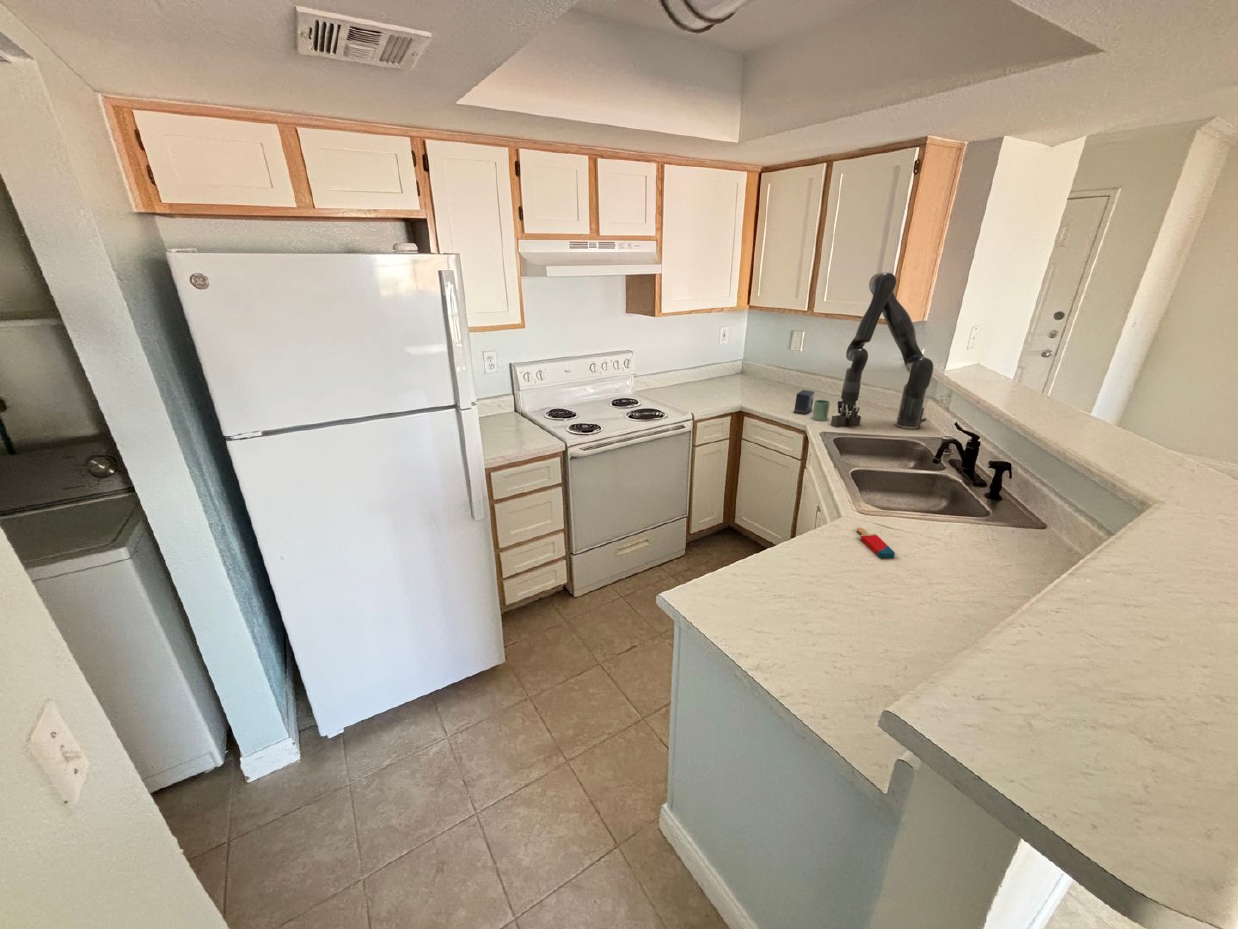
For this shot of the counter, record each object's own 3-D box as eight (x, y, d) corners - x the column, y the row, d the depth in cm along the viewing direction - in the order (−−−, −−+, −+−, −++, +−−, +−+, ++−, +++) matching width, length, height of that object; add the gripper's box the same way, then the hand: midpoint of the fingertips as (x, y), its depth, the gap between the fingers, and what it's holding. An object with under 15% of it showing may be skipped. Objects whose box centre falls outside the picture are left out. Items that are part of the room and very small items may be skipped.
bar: (854, 422, 246) (855, 413, 245) (859, 425, 243) (861, 416, 241) (830, 424, 244) (832, 415, 242) (835, 427, 240) (837, 418, 239)
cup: (822, 416, 257) (824, 399, 253) (829, 420, 251) (832, 402, 247) (810, 417, 256) (812, 400, 252) (817, 421, 249) (820, 403, 246)
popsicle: (866, 525, 147) (896, 552, 134) (865, 530, 148) (895, 557, 134) (851, 526, 147) (880, 553, 133) (851, 530, 148) (879, 558, 134)
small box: (805, 414, 260) (808, 395, 256) (793, 412, 264) (796, 393, 260) (812, 410, 268) (815, 391, 264) (800, 408, 271) (802, 389, 267)
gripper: (867, 392, 231) (861, 428, 238) (848, 386, 244) (843, 419, 250) (853, 393, 230) (847, 429, 236) (834, 386, 243) (829, 420, 249)
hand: (845, 424), depth 243 cm, fingers closed on bar, 4 cm apart
